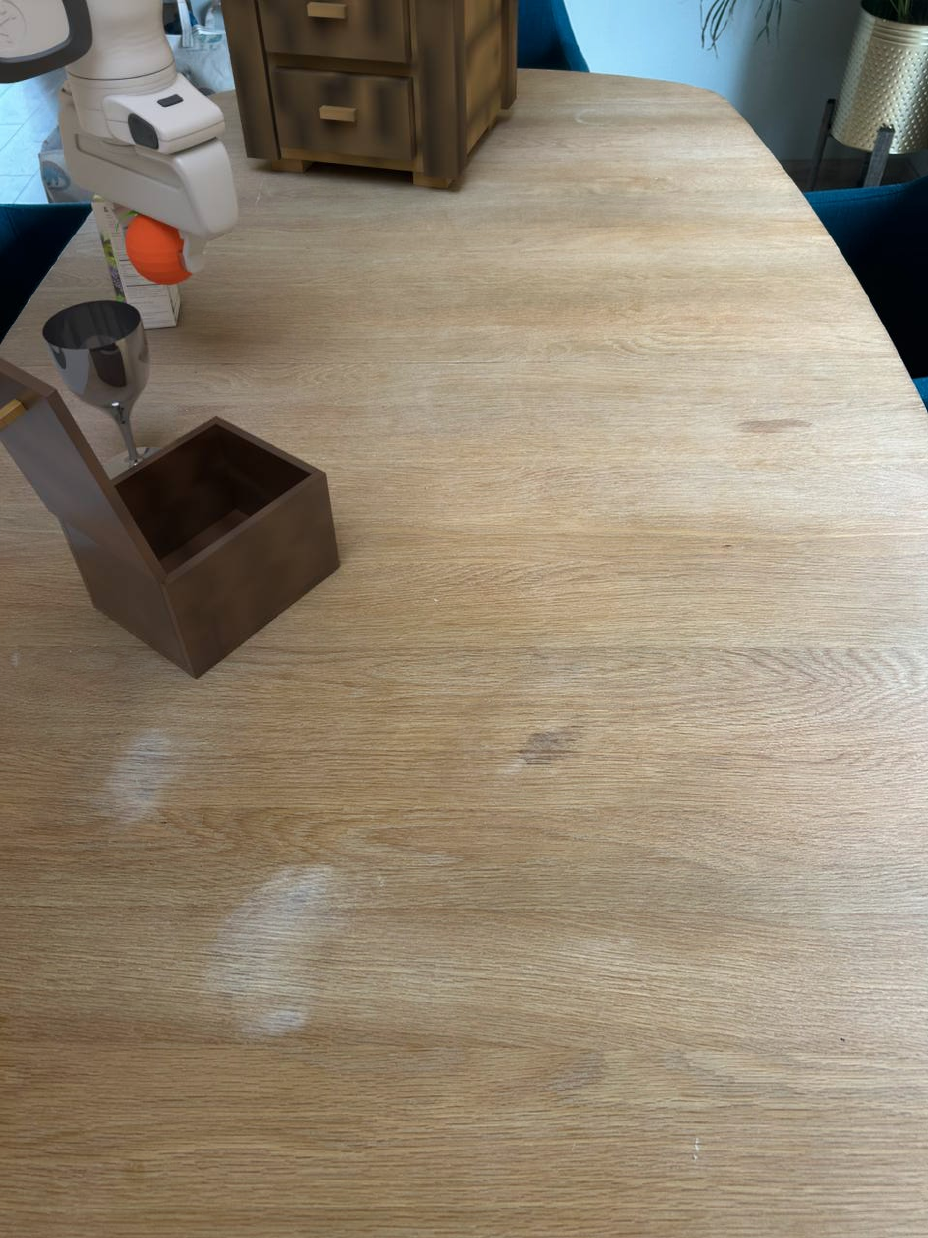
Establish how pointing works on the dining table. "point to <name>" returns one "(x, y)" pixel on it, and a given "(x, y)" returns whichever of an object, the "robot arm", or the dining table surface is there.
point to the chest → (213, 543)
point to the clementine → (154, 250)
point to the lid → (67, 468)
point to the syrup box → (134, 276)
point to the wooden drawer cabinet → (371, 80)
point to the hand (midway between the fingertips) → (164, 256)
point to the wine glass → (103, 365)
